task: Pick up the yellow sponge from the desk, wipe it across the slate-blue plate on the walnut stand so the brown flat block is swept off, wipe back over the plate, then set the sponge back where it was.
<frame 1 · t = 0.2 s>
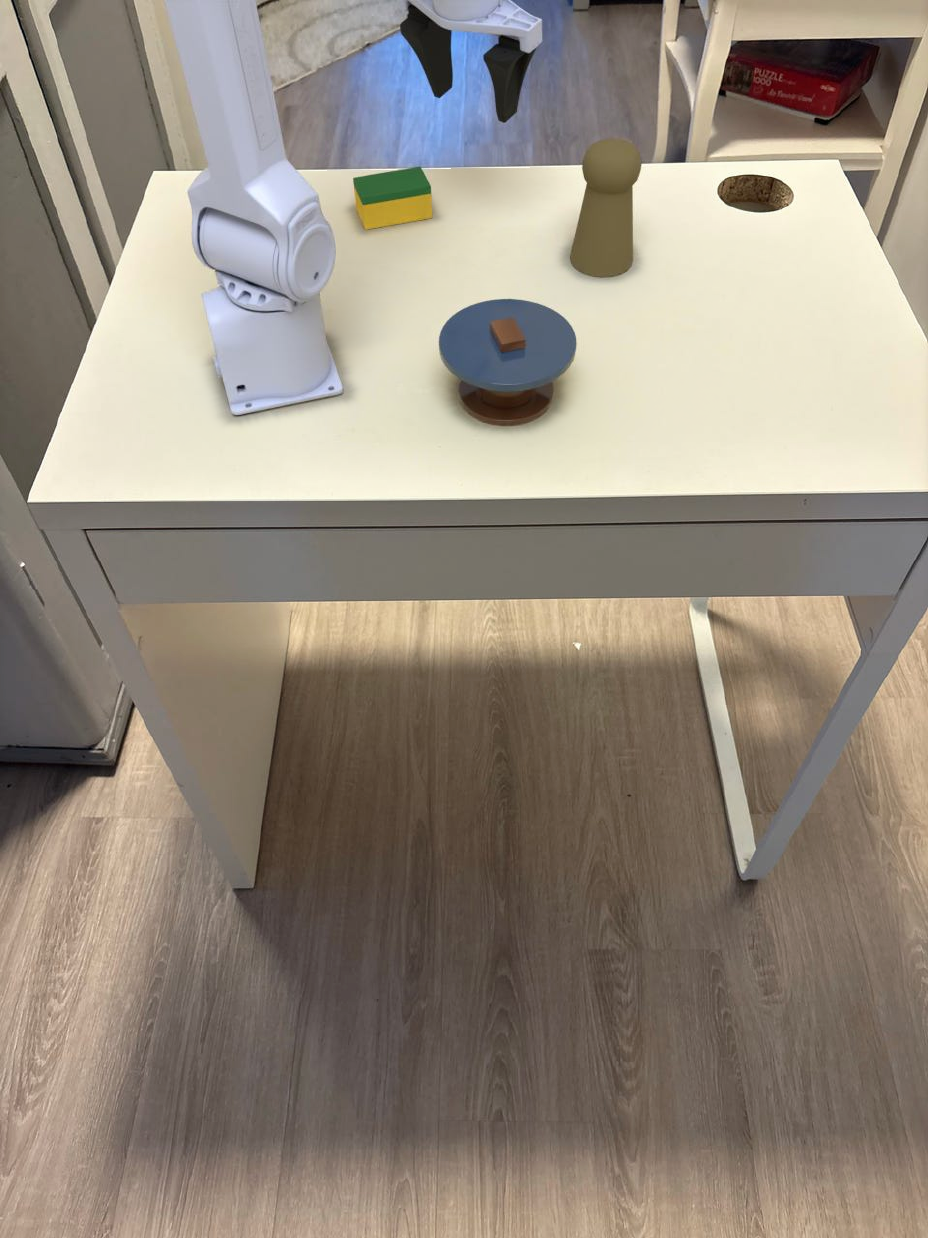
hand: (475, 103, 92), 10 cm above the table, tool pointing down, fingers open, 7 cm apart
sponge: (394, 213, 100), on the table
olive chess pawn: (601, 260, 95), on the table
plate: (506, 393, 83), on the table
brown flat block: (507, 339, 78), point 5 cm above the table, touching plate
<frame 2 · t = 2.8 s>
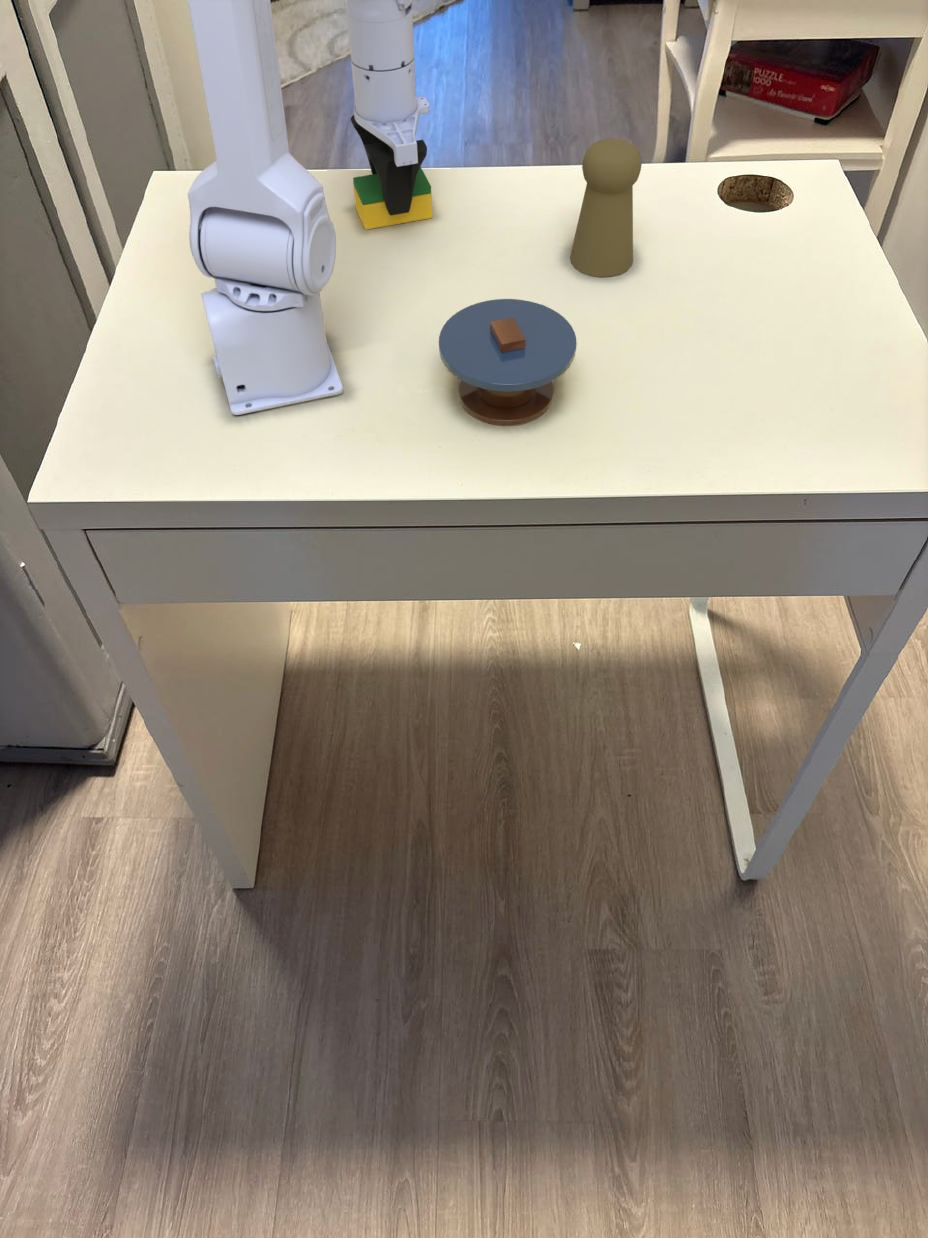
hand: (393, 200, 99), 1 cm above the table, tool pointing down, fingers closed on sponge, 4 cm apart
sponge: (394, 213, 100), on the table, touching gripper
everything else where it was.
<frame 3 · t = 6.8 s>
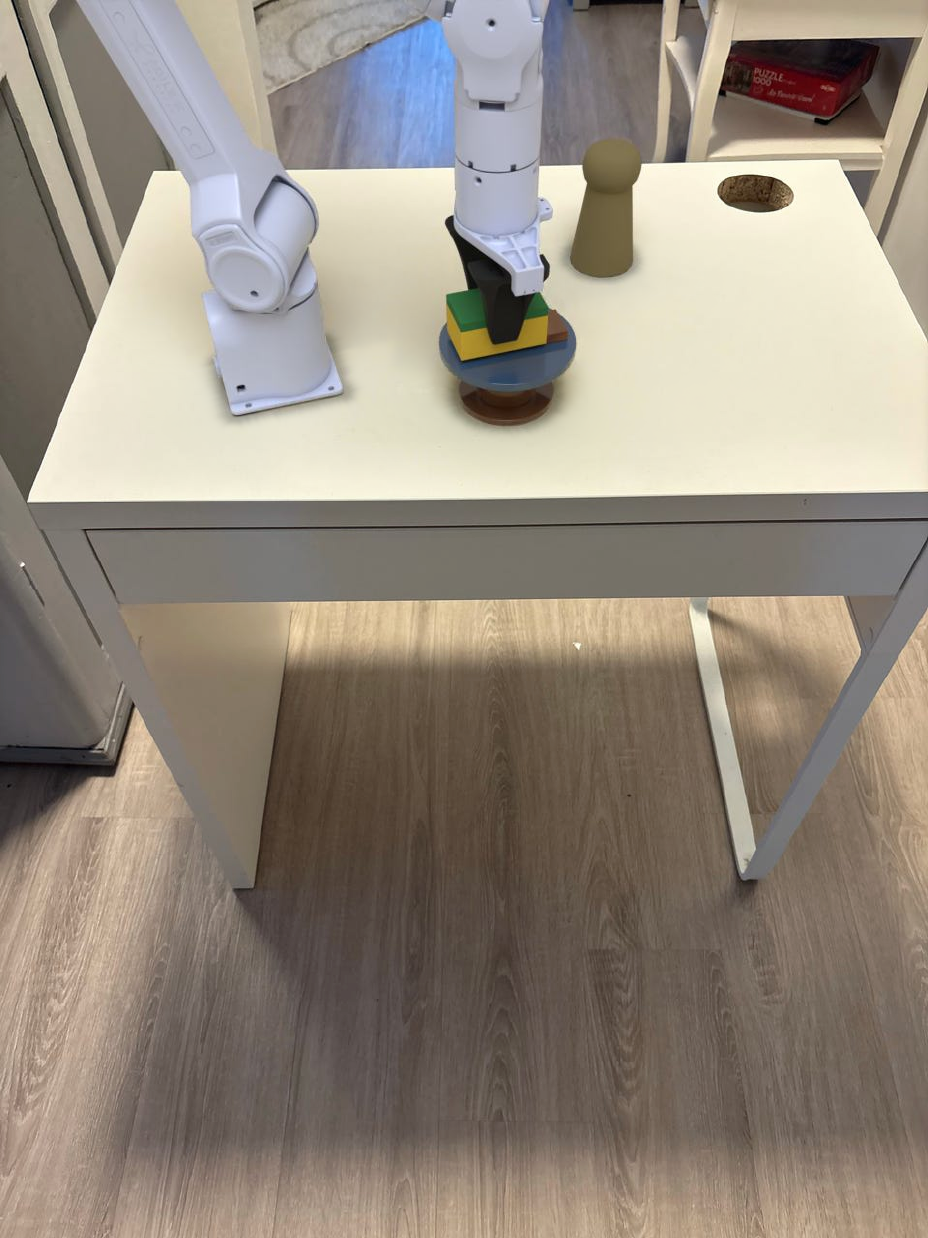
hand: (495, 322, 77), 7 cm above the table, tool pointing down, fingers closed on sponge, 4 cm apart
sponge: (496, 337, 78), point 6 cm above the table, touching gripper
brown flat block: (549, 331, 79), point 5 cm above the table, touching plate
everything else where it was.
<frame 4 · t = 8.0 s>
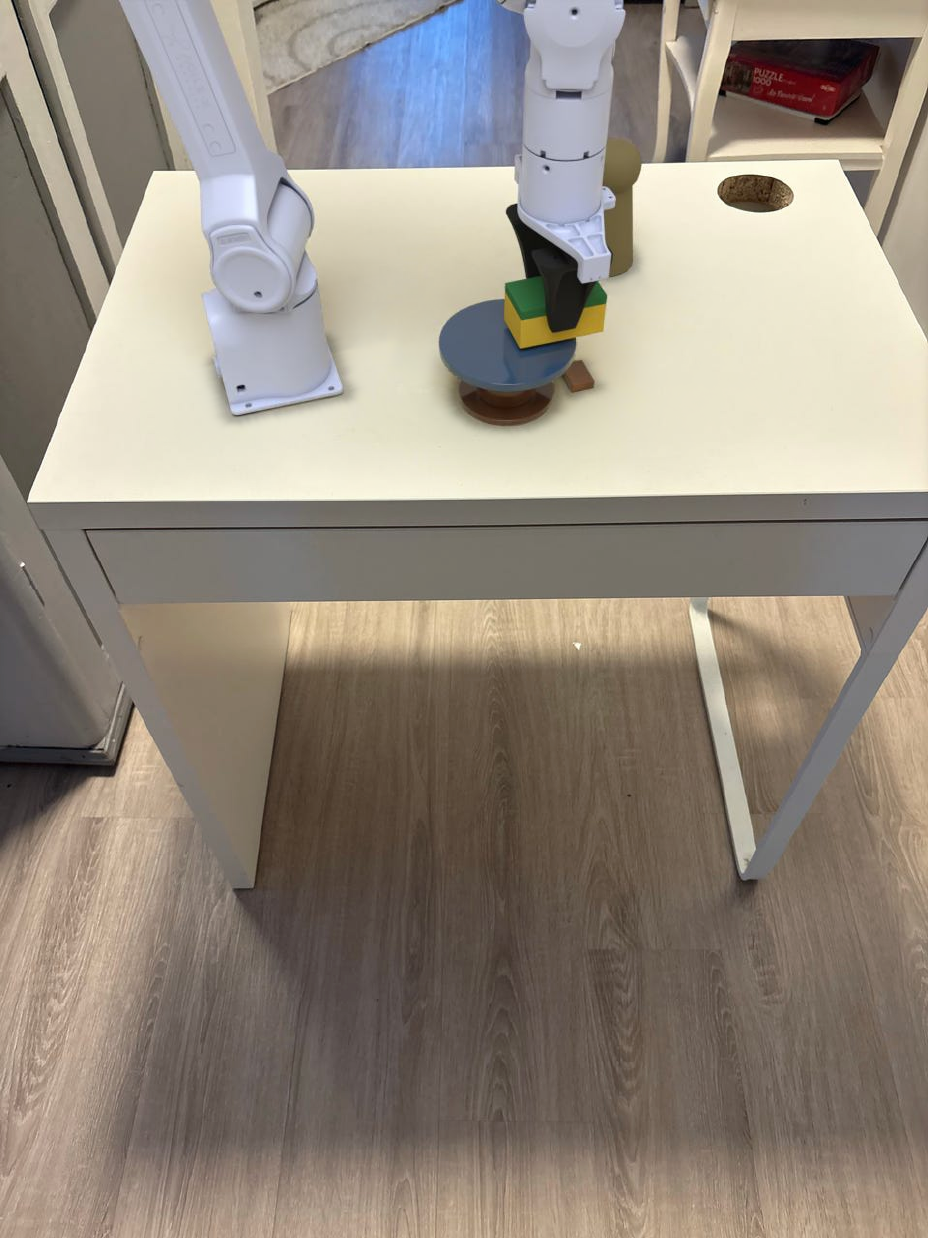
hand: (552, 311, 78), 7 cm above the table, tool pointing down, fingers closed on sponge, 4 cm apart
sponge: (553, 325, 79), point 6 cm above the table, touching gripper
brown flat block: (577, 372, 83), point 1 cm above the table, tilted 180°
everything else where it was.
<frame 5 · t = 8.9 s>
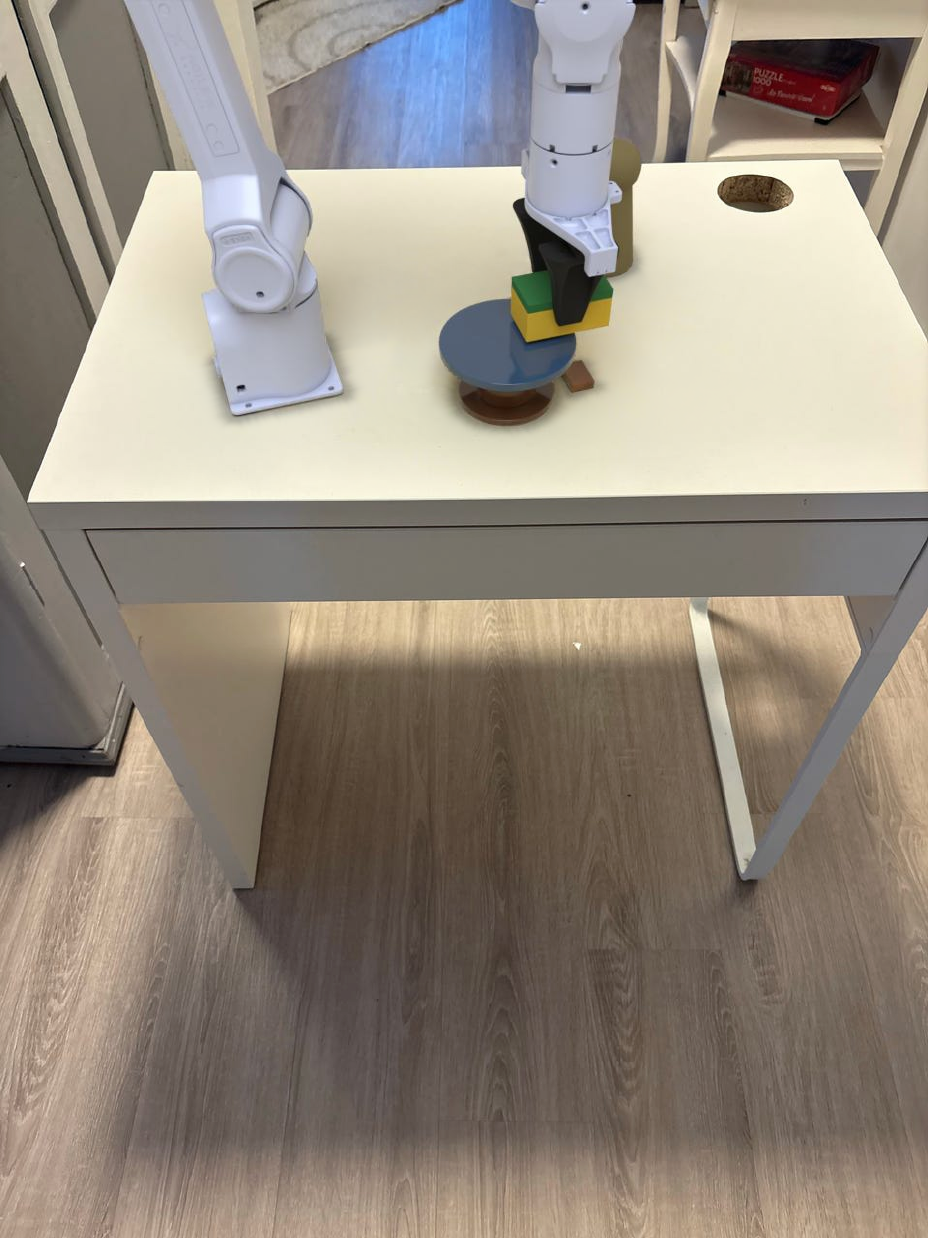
hand: (559, 305, 78), 7 cm above the table, tool pointing down, fingers closed on sponge, 4 cm apart
sponge: (559, 319, 79), point 6 cm above the table, touching gripper
everything else where it was.
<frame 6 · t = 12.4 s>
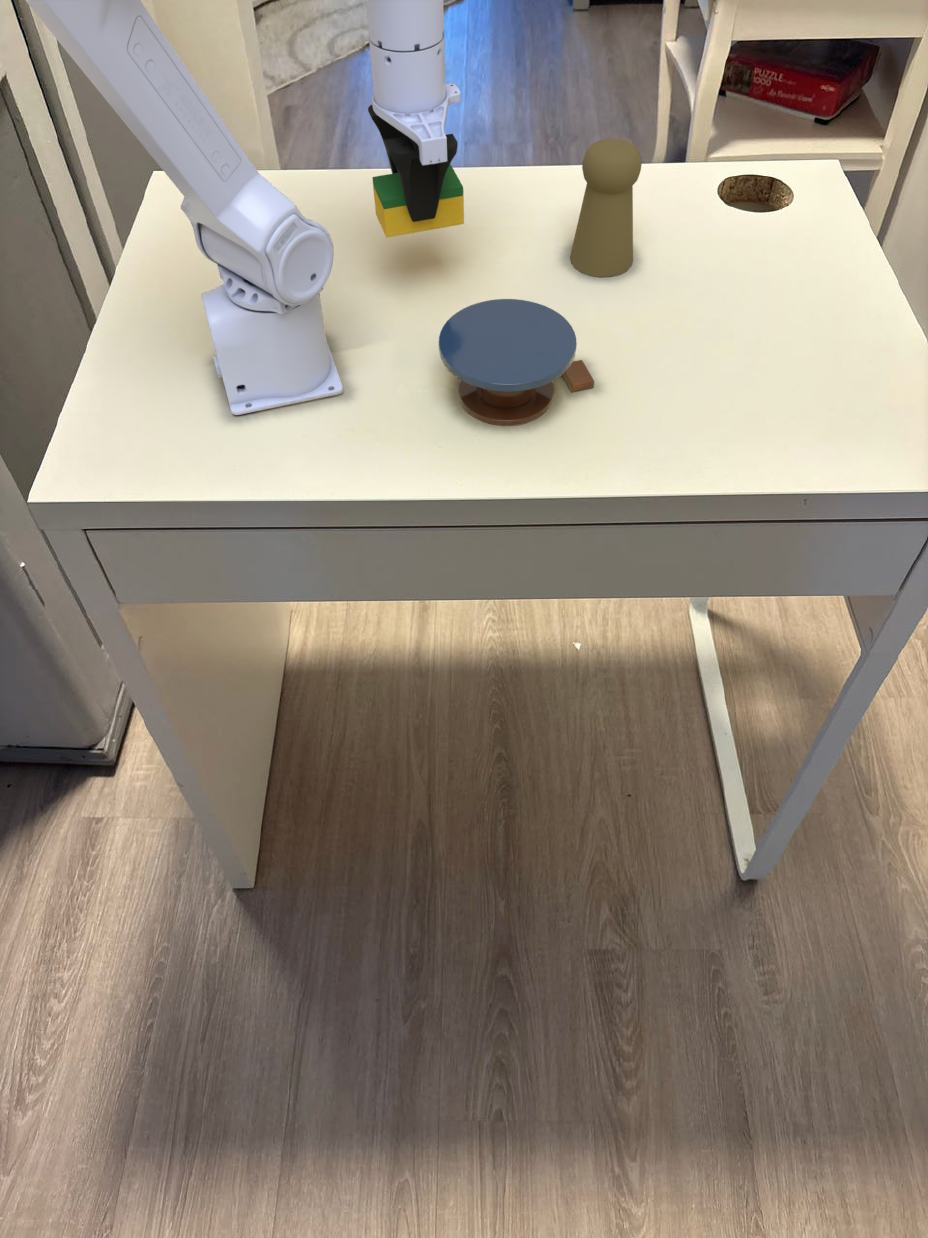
hand: (416, 204, 85), 8 cm above the table, tool pointing down, fingers closed on sponge, 4 cm apart
sponge: (419, 218, 86), point 7 cm above the table, touching gripper
everything else where it was.
when the fingers open (1 cm above the table, at t = 15.4 s): sponge stays where it is, on the table.
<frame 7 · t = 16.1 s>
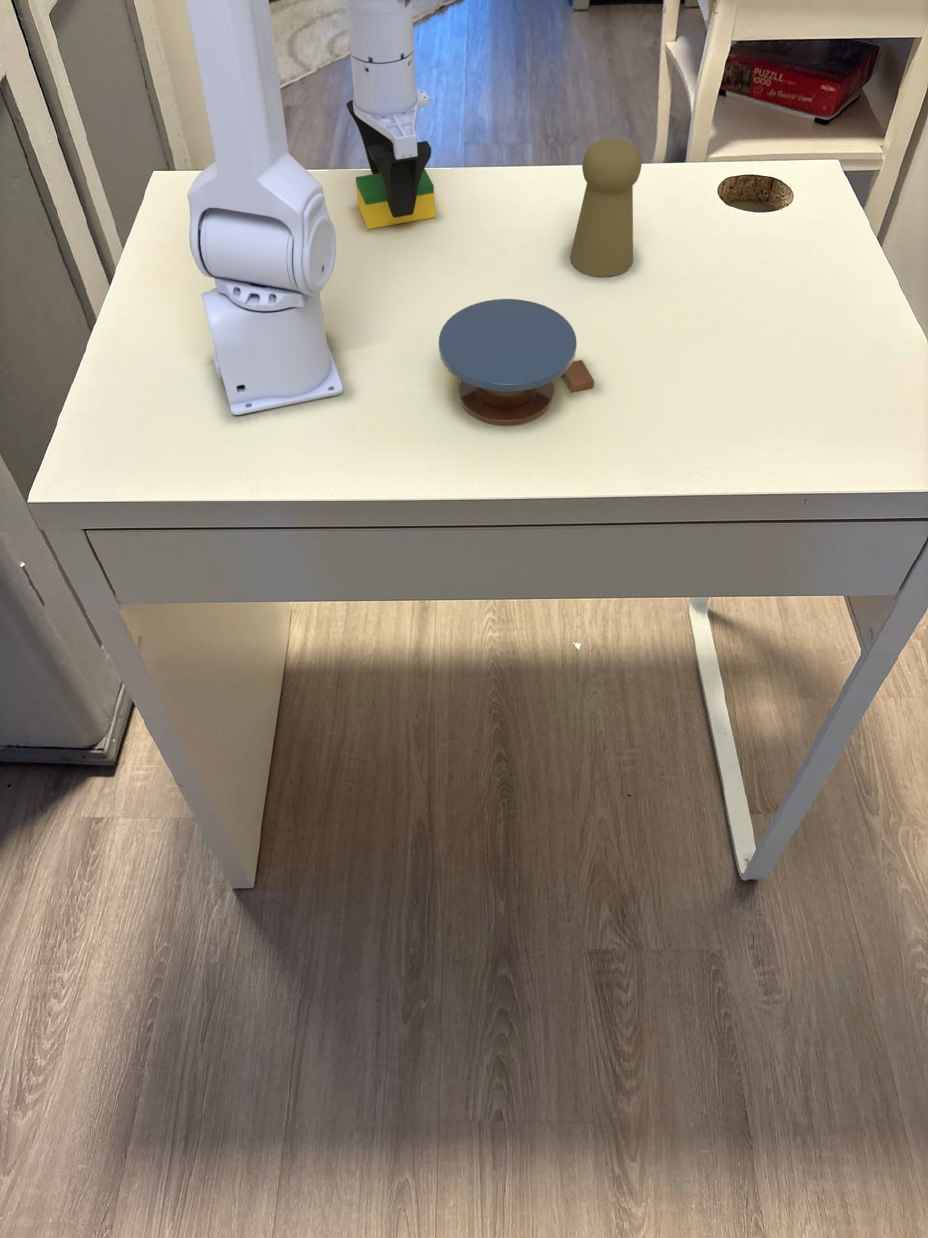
hand: (392, 194, 98), 2 cm above the table, tool pointing down, fingers open, 7 cm apart
sponge: (396, 212, 100), on the table
everything else where it was.
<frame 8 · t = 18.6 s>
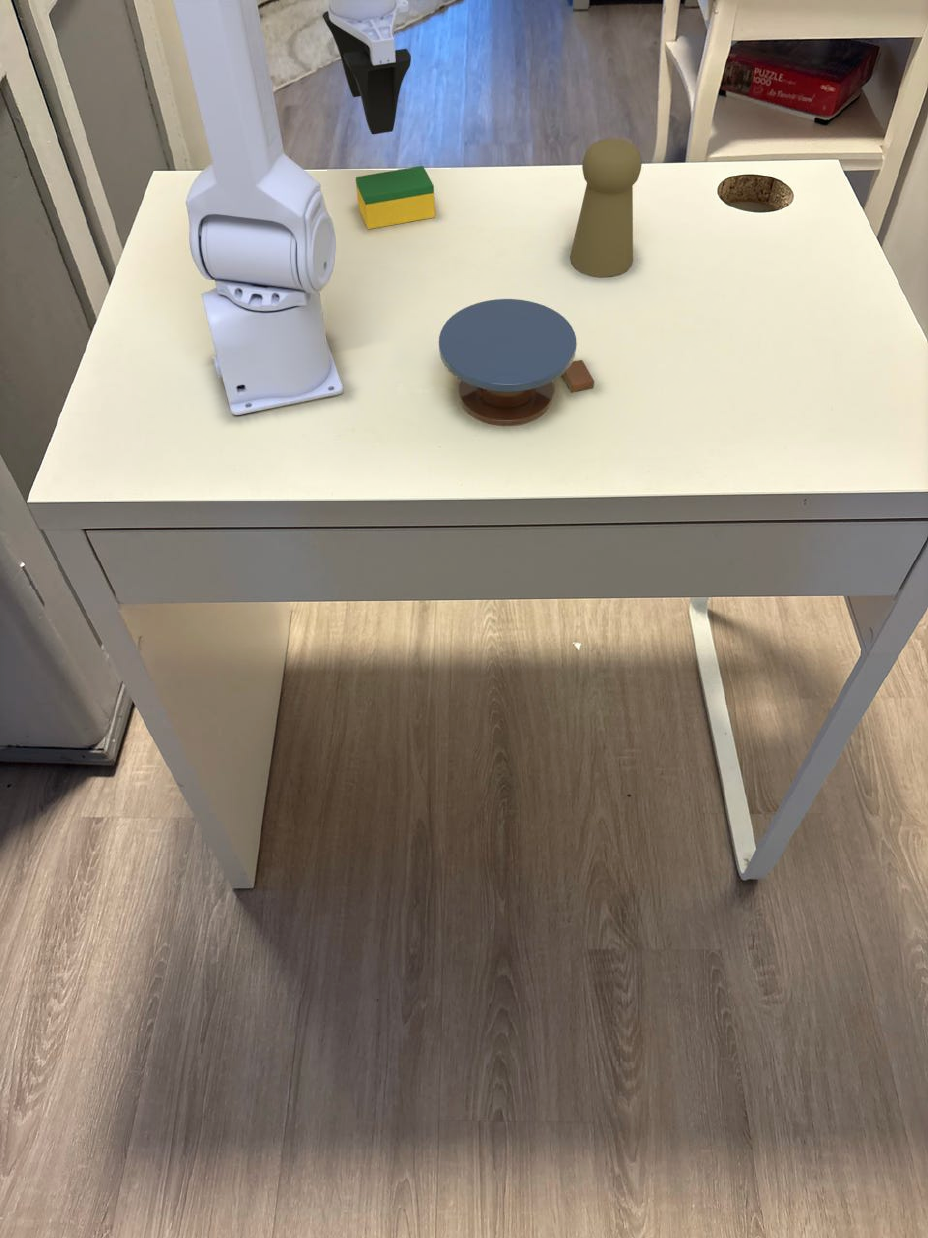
hand: (371, 112, 93), 9 cm above the table, tool pointing down, fingers open, 7 cm apart
nothing on the table moved.
at the end: brown flat block point 0.7 cm above the table; sponge inside the target area (0.3 cm from its centre), on the table; the gripper is holding nothing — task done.
